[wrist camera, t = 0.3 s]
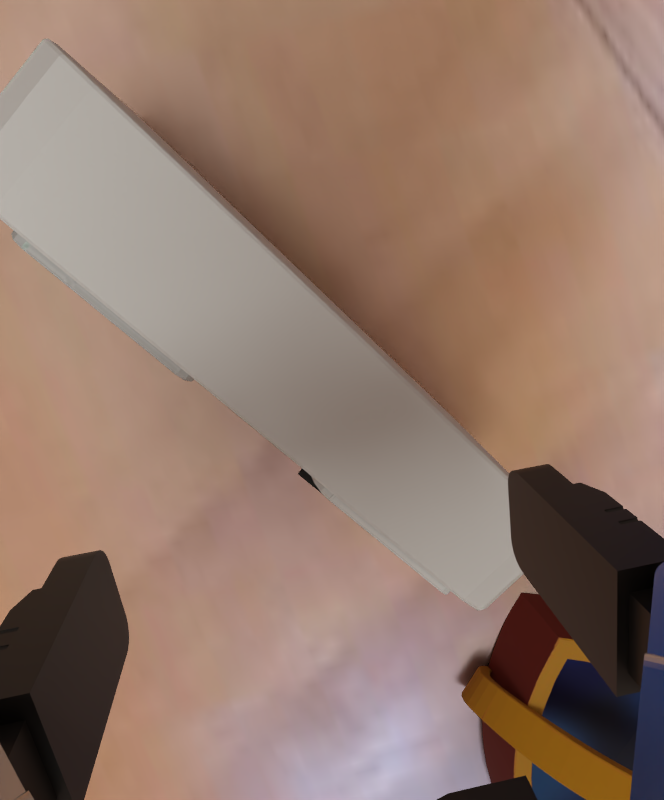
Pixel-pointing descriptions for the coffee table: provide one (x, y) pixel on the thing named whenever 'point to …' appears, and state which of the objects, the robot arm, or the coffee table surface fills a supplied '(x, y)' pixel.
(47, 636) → the robot arm
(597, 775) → the decorative basket
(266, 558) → the coffee table surface
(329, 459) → the rounded white slab
